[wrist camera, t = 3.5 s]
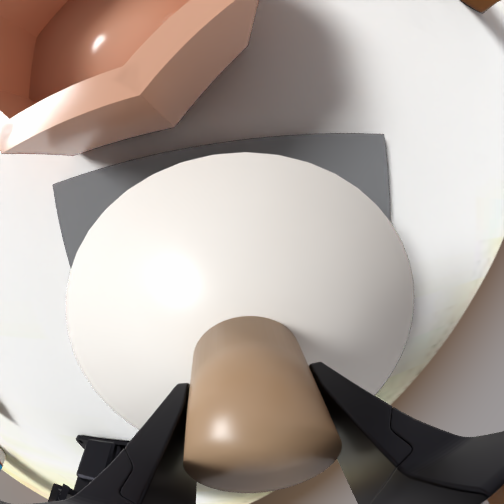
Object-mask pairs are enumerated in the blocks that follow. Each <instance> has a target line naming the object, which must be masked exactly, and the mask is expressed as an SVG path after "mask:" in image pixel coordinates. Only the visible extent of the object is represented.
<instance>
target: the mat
mask: <svg viewBox="0 0 504 504" xmlns="http://www.w3.org/2000/svg"><path fill="white" fill-rule="evenodd" d="M242 152H250V153H263V154H274V155H281V156H285V157H289V158H293V159H297V160H301V161H305V162H309V163H311V164H314V165H316V166H318V167H321V168H323V169H325V170H328V171H330V172H332V173H335V174H336V175H338V176H340V177H341V178H343V179H344V180H346V181H348V182H349V183H351V184H352V185H354V186H355V187H357V188H358V189H360V190H361V191H362V192H363V193H364V194H365V195H366V196H367V197H369V198H370V199H371V200H372V201H373V202H374V203H375V204H376V205H377V206H378V207H379V208H380V209H381V211H382V212H383V213H384V214H385V216H386V217H387V218H388V219H389V221H390V198H389V179H388V166H387V156H386V146H385V138H384V134H364V133H331V134H304V135H287V136H274V137H263V138H253V139H245V140H236V141H229V142H222V143H215V144H209V145H202V146H196V147H191V148H185V149H180V150H175V151H170V152H165V153H160V154H156V155H151V156H147V157H143V158H139V159H135V160H131V161H127V162H123V163H119V164H115V165H112V166H108V167H105V168H101V169H98V170H95V171H91V172H88V173H85V174H82V175H79V176H76V177H73V178H70V179H67V180H64V181H61V182H58V183H56V184H53V190H54V197H55V203H56V208H57V214H58V219H59V224H60V228H61V233H62V237H63V241H64V245H65V249H66V253H67V257H68V260H69V264H70V267H71V268H72V265H73V262H74V259H75V256H76V253H77V251H78V249H79V247H80V245H81V244H82V242H83V240H84V238H85V236H86V235H87V233H88V231H89V230H90V228H91V227H92V226H93V224H94V223H95V222H96V221H97V219H98V218H99V217H100V216H101V214H102V213H103V212H104V211H105V210H106V209H107V208H108V207H109V206H110V205H111V204H112V203H113V202H114V201H116V200H117V199H118V198H119V197H120V196H121V195H122V194H123V193H125V192H126V191H127V190H129V189H130V188H132V187H133V186H135V185H136V184H138V183H140V182H141V181H143V180H144V179H146V178H148V177H149V176H151V175H153V174H155V173H157V172H160V171H162V170H164V169H167V168H169V167H171V166H174V165H176V164H179V163H181V162H185V161H189V160H193V159H197V158H201V157H206V156H210V155H216V154H228V153H242Z"/></svg>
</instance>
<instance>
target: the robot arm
mask: <svg viewBox="0 0 504 504" xmlns="http://www.w3.org/2000/svg"><path fill="white" fill-rule="evenodd" d="M309 368H310V370H311V373H312V375H313V377H314V379H315V382H316V384H317V386H318V389H319V391H320V393H321V395H322V398H323V400H324V402H325V404H326V407H327V409H328V411H329V414H330V416H331V418H332V420H333V423H334V425H335V427H336V430H337V432H338V434H339V437H340V439H341V442H342V450H341V452H340V454H339V456H338V458H337V459H338V461H339V464H340V466H341V468H342V470H343V472H344V475H345V477H346V479H347V481H348V483H349V485H350V488H351V490H352V492H353V494H354V496H355V498H356V501H357V502H358V504H504V431H503V432H499V433H494V434H489V435H484V436H478V437H461V436H457V435H454V434H451V433H449V432H446V431H443V430H440V429H438V428H435V427H433V426H430V425H428V424H425V423H423V422H421V421H419V420H416V419H414V418H412V417H410V416H409V415H407V414H405V413H403V412H401V411H399V410H398V409H396V408H392V406H391V405H389V404H387V403H386V402H384V401H382V400H381V399H379V398H377V397H376V396H374V395H373V394H371V393H369V392H368V391H366V390H364V389H363V388H361V387H360V386H358V385H356V384H355V383H353V382H352V381H350V380H349V379H347V378H345V377H344V376H342V375H341V374H339V373H338V372H336V371H335V370H333V369H332V368H330V367H329V366H327V365H325V364H324V363H322V362H316V363H311V364H310V365H309ZM189 388H190V384H189V383H179V384H177V385H176V386H175V387H174V388H173V390H172V391H171V392H170V393H169V395H168V396H167V397H166V398H165V399H164V401H163V402H162V403H161V404H160V406H159V407H158V408H157V409H156V410H155V412H154V413H153V414H152V415H151V417H150V418H149V419H148V420H147V421H146V423H145V424H144V425H143V426H142V427H141V429H140V430H139V431H138V432H137V433H136V435H135V436H134V437H133V438H132V439H131V441H130V442H125V441H115V440H106V439H99V438H92V437H86V436H80V435H78V436H77V438H76V440H77V442H78V443H79V444H80V445H81V446H82V447H83V448H84V449H85V450H84V453H83V455H82V458H81V461H80V464H79V467H78V470H77V476H78V477H77V481H76V484H75V487H74V490H73V489H71V488H70V487H69V486H67V485H65V484H63V486H61V485H58V484H55V483H54V484H53V487H52V490H51V493H50V497H49V500H48V502H45V503H35V504H196V483H197V481H195V480H194V479H192V478H191V477H190V476H189V475H188V474H187V473H186V471H185V470H184V466H183V457H184V443H185V430H186V419H187V408H188V398H189ZM0 504H9V503H6V502H3V501H1V500H0Z"/></svg>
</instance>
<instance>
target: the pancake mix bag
mask: <svg viewBox="0 0 504 504" xmlns="http://www.w3.org/2000/svg"><path fill="white" fill-rule="evenodd" d="M461 1H462V2H464V3H465V4H466V5H468V6H470V7H471V8H473V9H475V10H477V11H479V12H481V13H484V12H485V11H487V10H488V9H489V8H490V7H491V6H493V5H494V4H495V3H497V2H499V1H501V0H461Z"/></svg>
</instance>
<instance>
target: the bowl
mask: <svg viewBox="0 0 504 504" xmlns="http://www.w3.org/2000/svg"><path fill="white" fill-rule="evenodd" d="M258 2H259V0H0V152H1V153H2V154H51V155H70V156H74V155H77V154H80V153H83V152H85V151H88V150H91V149H94V148H97V147H101V146H104V145H107V144H110V143H114V142H117V141H121V140H124V139H128V138H132V137H135V136H139V135H143V134H147V133H151V132H156V131H160V130H165V129H169V128H174V127H175V126H176V125H177V123H178V122H179V121H180V120H181V118H182V117H183V116H184V115H185V113H186V112H187V111H188V110H189V108H190V107H191V106H192V105H193V104H194V102H195V101H196V100H197V99H198V98H199V97H200V95H201V94H202V93H203V92H204V91H205V90H206V89H207V87H208V86H209V85H210V84H211V83H212V82H213V81H214V80H215V79H216V78H217V76H218V75H219V74H220V73H221V72H222V71H223V70H224V69H225V68H226V67H227V66H228V65H229V64H230V63H231V62H232V61H233V60H234V59H235V58H236V57H237V56H238V55H239V54H240V53H241V52H242V51H243V50H244V49H245V48H246V47H247V46H248V44H249V39H250V35H251V31H252V26H253V22H254V18H255V14H256V10H257V6H258Z"/></svg>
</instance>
